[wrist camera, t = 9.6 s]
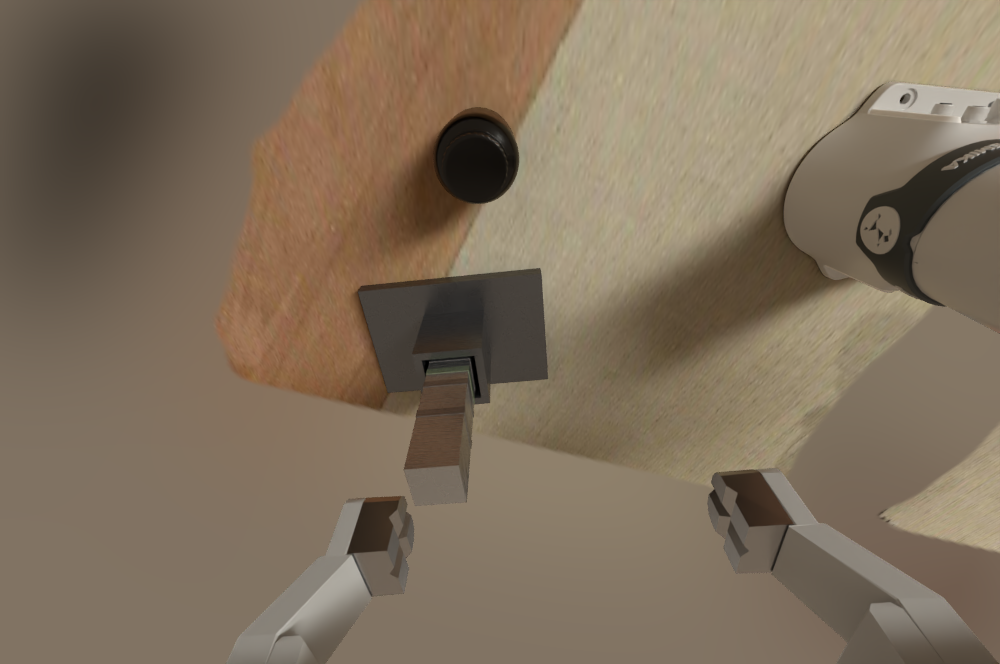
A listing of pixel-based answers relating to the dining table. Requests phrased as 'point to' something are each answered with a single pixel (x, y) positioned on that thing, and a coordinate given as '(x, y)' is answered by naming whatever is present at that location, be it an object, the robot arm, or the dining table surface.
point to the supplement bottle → (476, 156)
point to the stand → (459, 327)
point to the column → (443, 433)
